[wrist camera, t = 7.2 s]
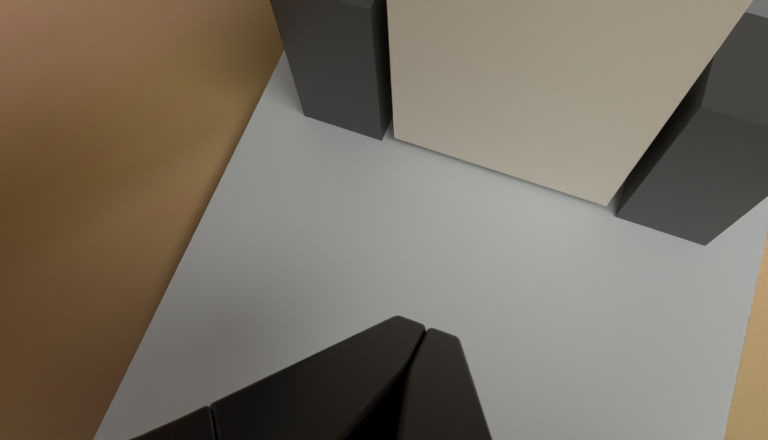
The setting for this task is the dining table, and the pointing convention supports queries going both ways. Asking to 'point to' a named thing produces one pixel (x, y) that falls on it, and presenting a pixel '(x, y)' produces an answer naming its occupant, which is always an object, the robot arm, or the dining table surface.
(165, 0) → the dining table surface
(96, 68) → the dining table surface
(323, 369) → the robot arm
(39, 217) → the dining table surface
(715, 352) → the socket
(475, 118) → the beige block
